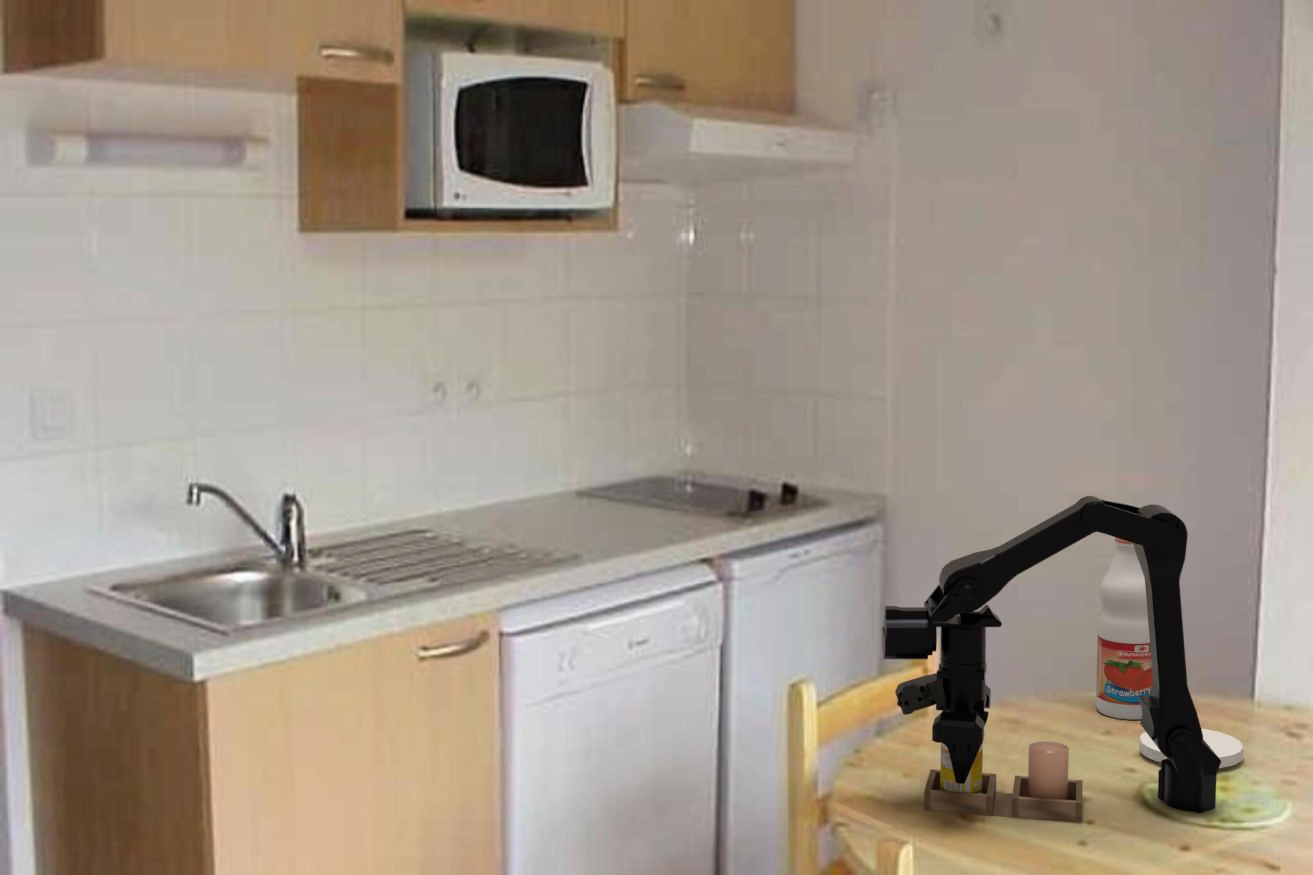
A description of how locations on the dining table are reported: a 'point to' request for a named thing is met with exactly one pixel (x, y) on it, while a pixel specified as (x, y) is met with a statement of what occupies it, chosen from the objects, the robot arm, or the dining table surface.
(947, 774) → the supplement bottle
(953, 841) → the dining table surface
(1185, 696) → the robot arm
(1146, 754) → the plastic lid
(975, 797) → the rack
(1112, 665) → the fruit juice
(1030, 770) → the pink cylinder
